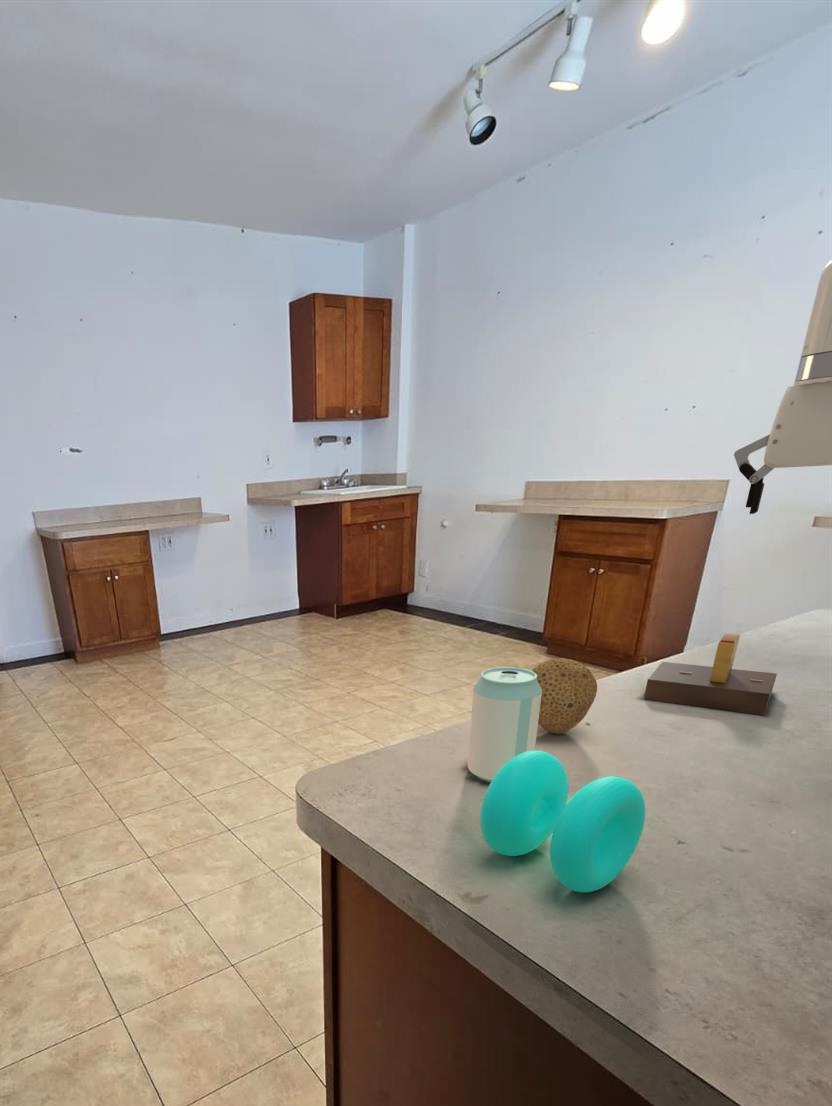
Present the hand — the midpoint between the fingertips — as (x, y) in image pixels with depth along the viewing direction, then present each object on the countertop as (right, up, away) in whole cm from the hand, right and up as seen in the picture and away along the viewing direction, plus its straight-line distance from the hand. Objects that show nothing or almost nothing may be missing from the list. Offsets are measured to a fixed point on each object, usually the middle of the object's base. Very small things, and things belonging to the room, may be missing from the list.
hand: (795, 512), depth 89 cm
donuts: (-49, -45, -32) cm, 74 cm away
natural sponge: (-37, -31, -5) cm, 49 cm away
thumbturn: (-10, -23, 0) cm, 25 cm away
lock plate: (-11, -26, +2) cm, 28 cm away
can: (-47, -37, -15) cm, 62 cm away
